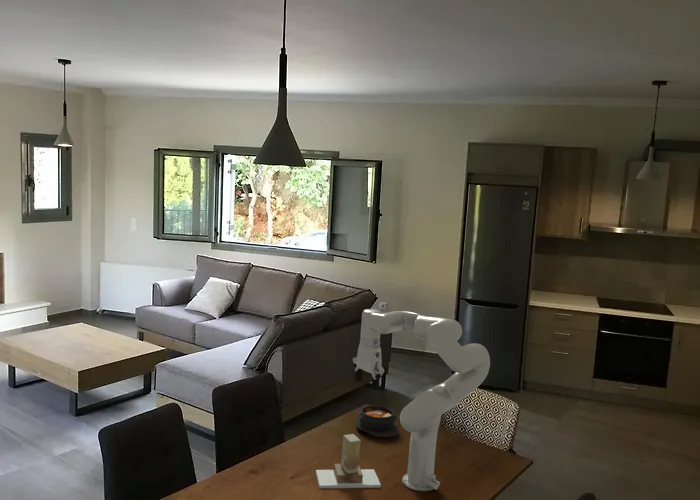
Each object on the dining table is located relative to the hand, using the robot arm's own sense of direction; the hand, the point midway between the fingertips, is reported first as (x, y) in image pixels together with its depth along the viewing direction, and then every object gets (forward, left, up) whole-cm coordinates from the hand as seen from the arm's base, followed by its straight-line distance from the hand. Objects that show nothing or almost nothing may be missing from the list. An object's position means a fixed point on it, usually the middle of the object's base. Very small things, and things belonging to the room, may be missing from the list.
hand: (366, 384), depth 242 cm
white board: (-10, +15, -30) cm, 35 cm away
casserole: (+20, -26, -31) cm, 45 cm away
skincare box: (-11, +15, -26) cm, 32 cm away
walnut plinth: (-10, +15, -30) cm, 35 cm away
